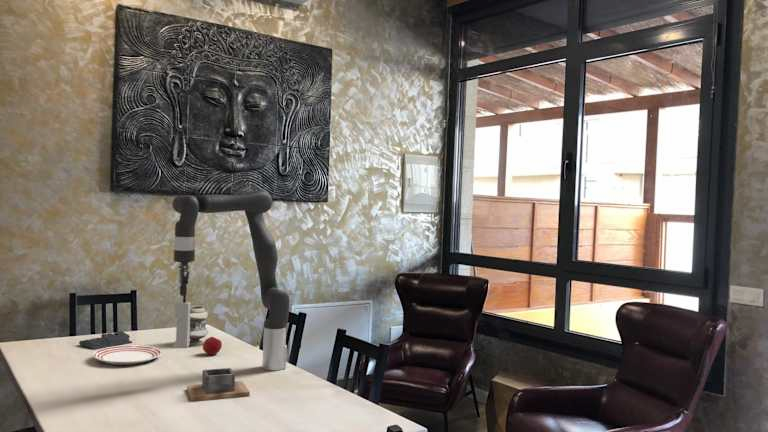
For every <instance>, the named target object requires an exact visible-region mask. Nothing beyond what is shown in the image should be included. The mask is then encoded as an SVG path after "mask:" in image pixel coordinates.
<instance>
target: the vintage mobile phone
mask: <svg viewBox="0 0 768 432" xmlns="http://www.w3.org/2000/svg"><path fill="white" fill-rule="evenodd" d="M186 296H187V295H186ZM186 296H183V298H182V299H183V300H182V301H176V302H175V303H174V315H175V319H176V330H175V331H176V332H175V333H176V334H175V336H176V337H175V341H174V342H173V348H174V349H187V348H189V347H190V346H189V341H190V310H191V306H192V305H191V302H190V301H186V300H187V299H186V298H187V297H186Z"/></svg>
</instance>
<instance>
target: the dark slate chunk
mask: <svg viewBox="0 0 768 432" xmlns="http://www.w3.org/2000/svg"><path fill="white" fill-rule="evenodd" d="M130 337H131V336H130V335H129V334H128V333H125V332H124V331H123V330H119V331H115V332H112V333H111V332H108V333H102V334H101V337H94V338H90V339H85V340H80V341H79V343H78V344H79V345H81V346H83V347H85V348H87V349H90V350H93V351H97V350H100V349H103V348H107V347H113V346H125V345H129V344H133V341H132V340H131V341H130Z"/></svg>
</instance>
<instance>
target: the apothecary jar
mask: <svg viewBox="0 0 768 432" xmlns="http://www.w3.org/2000/svg"><path fill="white" fill-rule="evenodd" d="M205 307H206V306H203V305H191V310H190V340H189V346H188V347H203V344H204V342H205V341H203V340H201V339H203V338H206V337H207V336H208V335H209V330H208V328H207V327H206V319H207V318H208V317H209V313H208V312H207V311H206V309H205Z"/></svg>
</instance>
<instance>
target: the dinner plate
mask: <svg viewBox="0 0 768 432" xmlns="http://www.w3.org/2000/svg"><path fill="white" fill-rule="evenodd" d="M162 354H163V352H162V350H161V349H159V348H157V347H153V346H147V345H136V344H135V345H133V344H131V345H129V344H125V345H119V346H113V347H107V348H102V349H97V350H94V352H93V353H92V357H93V358H94V359H96V360H98V361H100V362H103V363H107V364H109V365H115V366H129V365H130V366H131V365H132V366H133V365H137V364H143V363H146V362H148V361H151V360H154V359H156V358H158V357H160V356H162Z"/></svg>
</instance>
